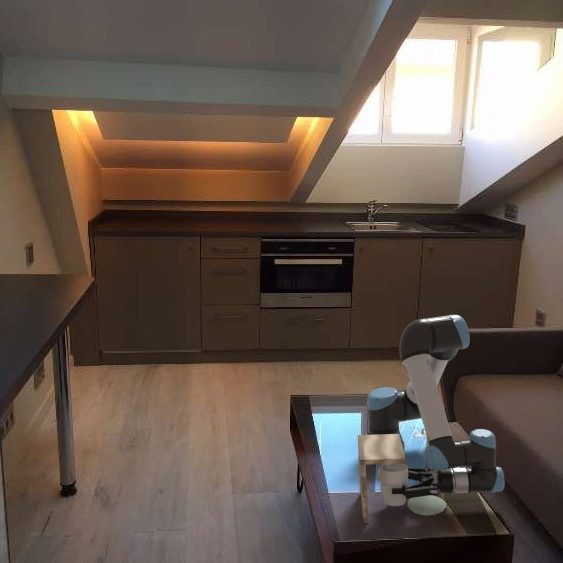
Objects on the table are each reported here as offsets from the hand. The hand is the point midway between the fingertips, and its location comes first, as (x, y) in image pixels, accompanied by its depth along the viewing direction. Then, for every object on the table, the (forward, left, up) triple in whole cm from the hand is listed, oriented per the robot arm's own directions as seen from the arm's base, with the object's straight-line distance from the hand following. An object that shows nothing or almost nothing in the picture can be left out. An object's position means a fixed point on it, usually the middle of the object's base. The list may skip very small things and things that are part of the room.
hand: (379, 482), depth 197 cm
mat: (-9, +12, -9) cm, 17 cm away
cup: (-3, +4, -7) cm, 8 cm away
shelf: (-1, +1, -9) cm, 9 cm away
